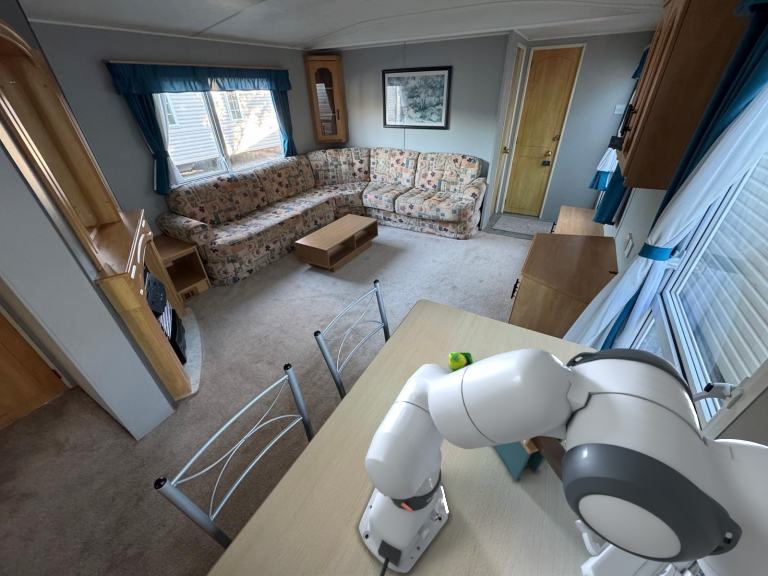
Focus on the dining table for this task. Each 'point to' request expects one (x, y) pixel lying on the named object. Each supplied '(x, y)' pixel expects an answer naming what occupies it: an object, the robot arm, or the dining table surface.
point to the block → (551, 452)
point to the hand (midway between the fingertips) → (595, 504)
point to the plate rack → (520, 456)
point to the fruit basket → (459, 360)
